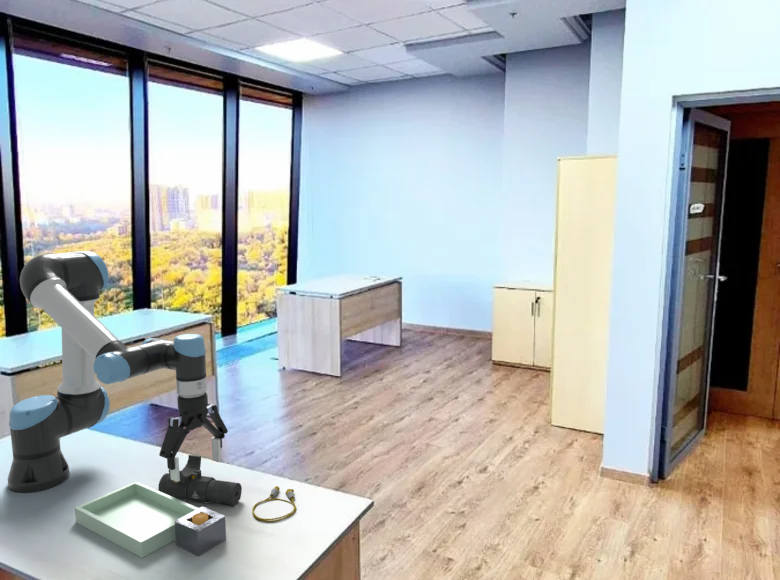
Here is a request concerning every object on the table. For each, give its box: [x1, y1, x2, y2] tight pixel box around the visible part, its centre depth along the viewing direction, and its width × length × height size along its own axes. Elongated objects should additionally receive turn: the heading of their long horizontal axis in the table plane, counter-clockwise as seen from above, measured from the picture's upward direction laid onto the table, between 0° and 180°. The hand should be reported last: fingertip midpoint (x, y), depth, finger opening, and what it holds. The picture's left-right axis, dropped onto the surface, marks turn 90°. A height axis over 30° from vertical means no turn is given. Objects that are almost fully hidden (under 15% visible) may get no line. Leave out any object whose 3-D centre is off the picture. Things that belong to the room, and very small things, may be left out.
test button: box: [192, 513, 208, 526], centre depth 139 cm, size 4×4×5 cm
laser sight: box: [158, 454, 243, 506], centre depth 159 cm, size 10×22×10 cm, turn 76°
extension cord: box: [251, 485, 297, 523], centre depth 156 cm, size 12×16×2 cm
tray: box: [74, 481, 200, 559], centre depth 147 cm, size 27×17×4 cm, turn 57°
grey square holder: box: [175, 506, 227, 557], centre depth 139 cm, size 8×8×6 cm
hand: (196, 470), depth 158 cm, fingers open, 13 cm apart
